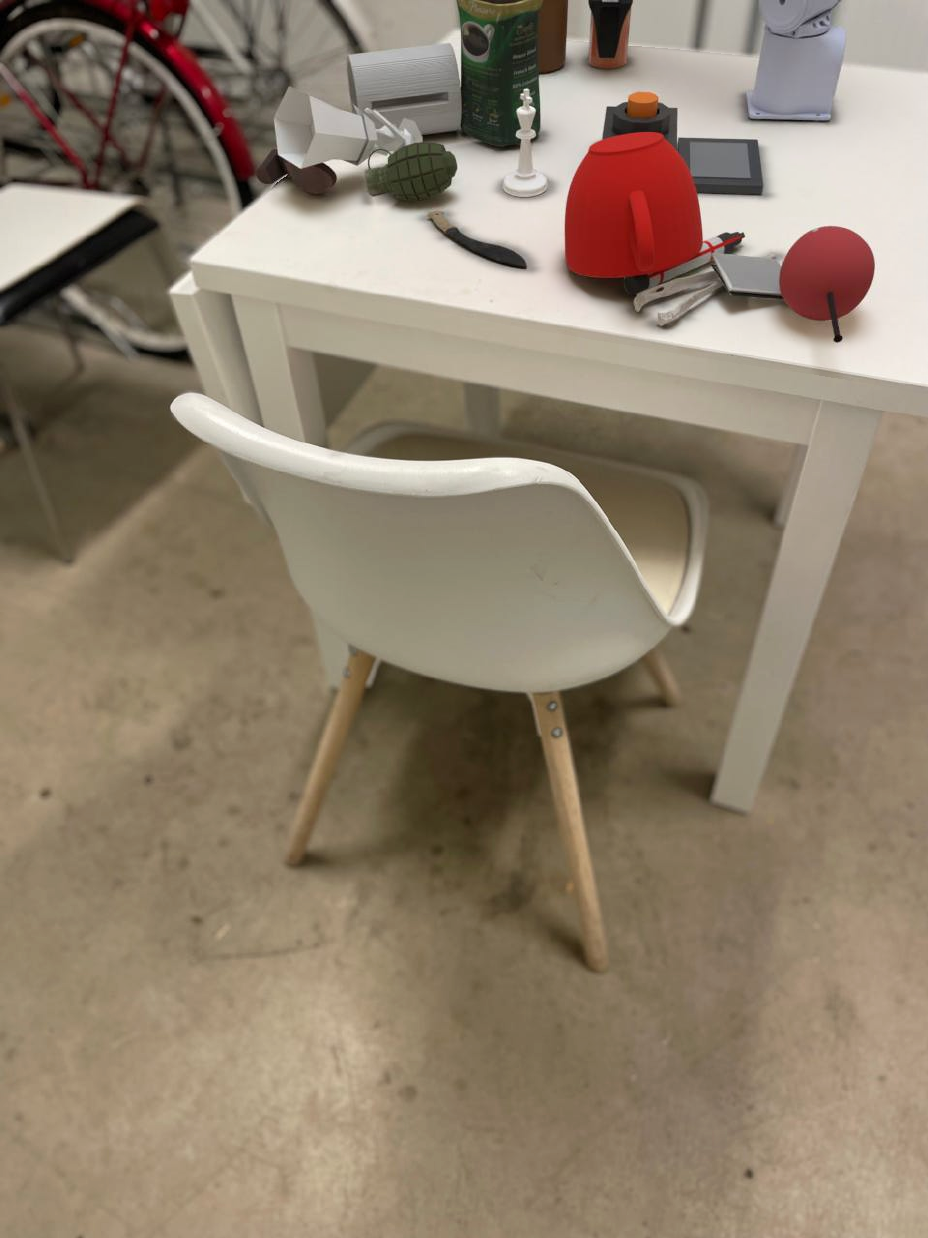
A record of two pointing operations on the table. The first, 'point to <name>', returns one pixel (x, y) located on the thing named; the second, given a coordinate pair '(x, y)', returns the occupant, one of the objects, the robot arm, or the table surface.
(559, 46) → the mug
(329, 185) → the heeled mule
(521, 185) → the chess piece
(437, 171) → the grenade
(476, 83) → the coffee jar
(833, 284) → the lollipop
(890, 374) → the table surface
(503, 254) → the machete
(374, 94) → the grey rounded slotted piece
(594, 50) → the clay cup
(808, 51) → the robot arm
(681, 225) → the ceramic cup
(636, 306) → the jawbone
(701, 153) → the tray
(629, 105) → the button
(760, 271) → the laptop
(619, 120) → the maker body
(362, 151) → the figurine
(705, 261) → the marker
